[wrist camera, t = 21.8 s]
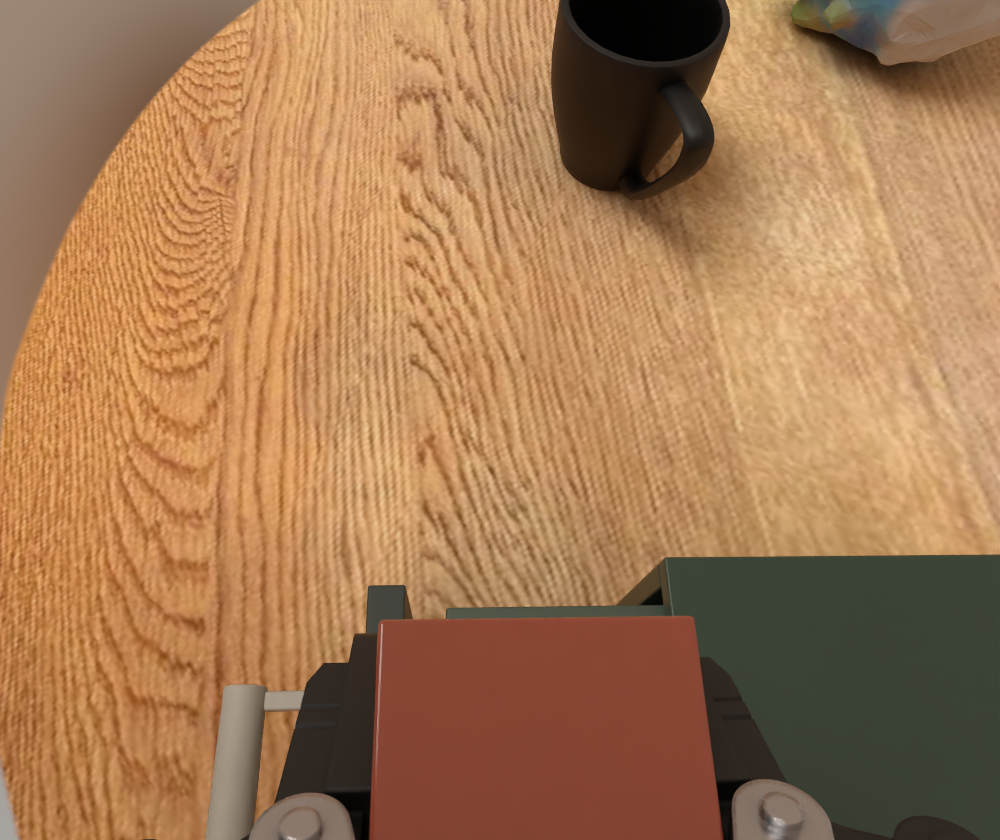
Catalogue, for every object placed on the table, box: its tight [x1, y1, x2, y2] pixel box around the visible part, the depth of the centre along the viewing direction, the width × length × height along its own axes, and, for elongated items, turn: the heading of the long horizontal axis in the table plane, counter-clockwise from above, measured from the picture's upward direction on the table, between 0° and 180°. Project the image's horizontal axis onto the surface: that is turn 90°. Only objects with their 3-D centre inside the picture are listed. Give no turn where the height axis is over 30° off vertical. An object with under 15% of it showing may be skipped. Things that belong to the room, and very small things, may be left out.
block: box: [369, 616, 724, 840], centre depth 13 cm, size 4×4×8 cm
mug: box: [551, 0, 730, 200], centre depth 39 cm, size 8×12×10 cm
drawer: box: [205, 585, 665, 840], centre depth 25 cm, size 19×11×8 cm, turn 91°
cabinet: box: [616, 555, 1000, 840], centre depth 26 cm, size 16×13×10 cm
